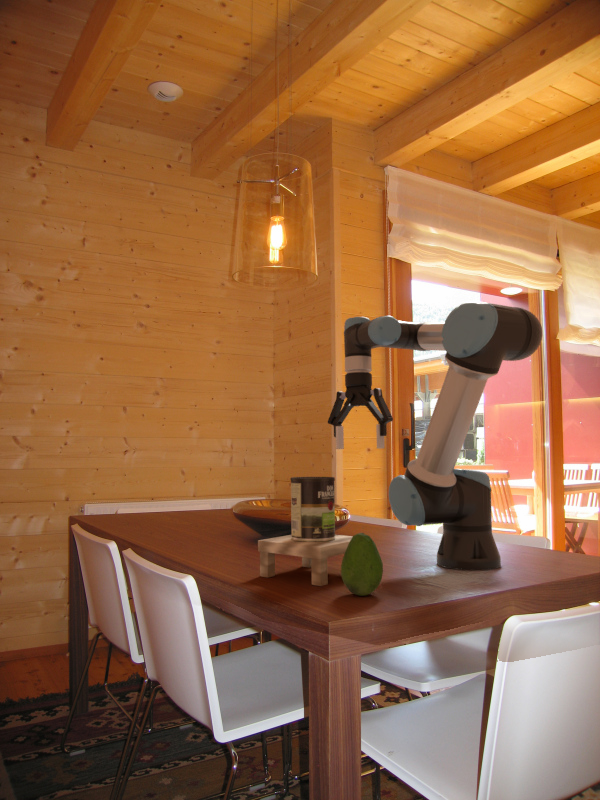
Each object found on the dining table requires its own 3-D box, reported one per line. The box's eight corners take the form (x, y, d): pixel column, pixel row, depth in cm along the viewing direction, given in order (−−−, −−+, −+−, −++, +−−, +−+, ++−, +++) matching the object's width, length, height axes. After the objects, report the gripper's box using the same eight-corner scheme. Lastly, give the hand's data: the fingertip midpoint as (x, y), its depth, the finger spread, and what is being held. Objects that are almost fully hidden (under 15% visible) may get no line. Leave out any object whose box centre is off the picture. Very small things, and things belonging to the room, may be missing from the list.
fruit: (360, 588, 125) (359, 529, 126) (391, 594, 119) (389, 532, 120) (333, 595, 120) (332, 532, 121) (364, 601, 114) (362, 536, 115)
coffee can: (344, 538, 142) (343, 476, 143) (318, 543, 133) (317, 478, 135) (308, 534, 148) (307, 476, 149) (281, 539, 140) (281, 477, 141)
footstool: (368, 573, 141) (367, 537, 142) (320, 586, 127) (320, 547, 128) (307, 564, 152) (307, 532, 153) (258, 576, 139) (257, 540, 139)
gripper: (404, 370, 167) (406, 448, 165) (330, 378, 182) (331, 449, 181) (389, 367, 161) (391, 448, 159) (315, 375, 177) (316, 449, 175)
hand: (359, 448), depth 170 cm, fingers open, 13 cm apart
